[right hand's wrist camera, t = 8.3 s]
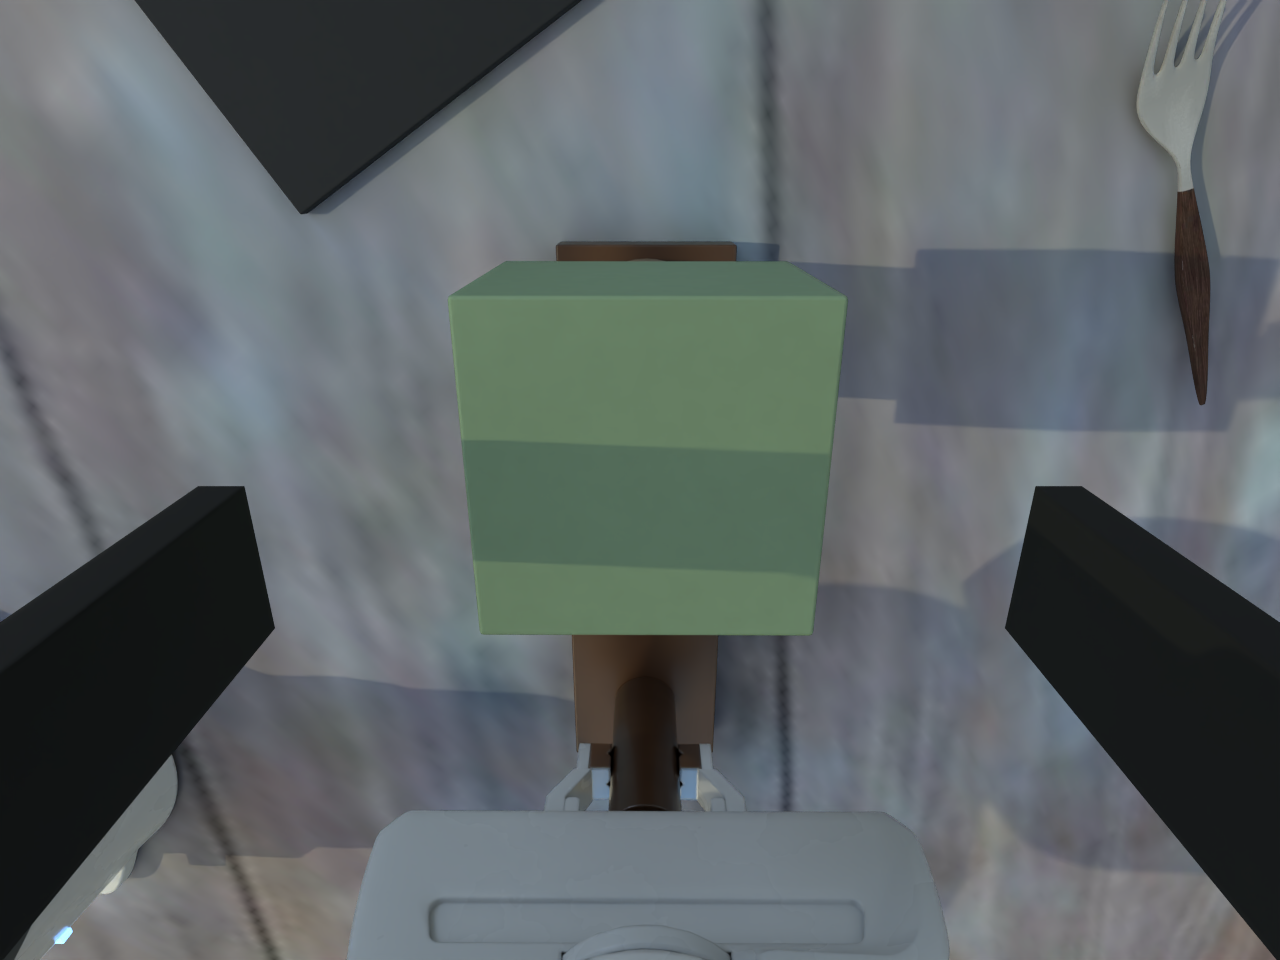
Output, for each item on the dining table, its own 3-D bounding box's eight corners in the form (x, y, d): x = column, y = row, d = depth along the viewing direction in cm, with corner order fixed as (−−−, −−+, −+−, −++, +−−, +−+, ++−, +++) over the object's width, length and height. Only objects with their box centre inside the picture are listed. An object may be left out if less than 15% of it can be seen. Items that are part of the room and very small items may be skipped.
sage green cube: (789, 260, 19) (849, 295, 14) (770, 520, 22) (813, 636, 16) (503, 260, 19) (445, 295, 14) (520, 519, 22) (479, 635, 16)
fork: (1162, 411, 32) (1194, 425, 30) (1124, 10, 27) (1160, -2, 25) (1225, 391, 32) (1260, 405, 30) (1200, -19, 26) (1242, -34, 24)
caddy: (732, 241, 30) (781, 277, 19) (710, 733, 39) (734, 939, 29) (559, 241, 30) (513, 277, 19) (578, 733, 39) (554, 938, 29)
